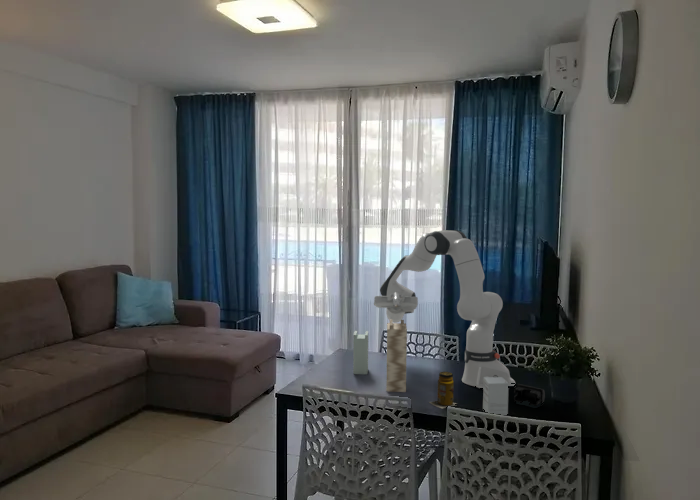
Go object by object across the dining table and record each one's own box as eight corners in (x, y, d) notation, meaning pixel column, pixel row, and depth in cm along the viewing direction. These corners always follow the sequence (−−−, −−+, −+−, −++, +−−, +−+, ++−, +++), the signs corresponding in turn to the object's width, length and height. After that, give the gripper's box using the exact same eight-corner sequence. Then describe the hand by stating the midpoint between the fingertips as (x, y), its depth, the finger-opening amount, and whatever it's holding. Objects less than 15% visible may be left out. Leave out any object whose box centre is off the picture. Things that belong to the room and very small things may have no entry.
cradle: (368, 369, 247) (368, 331, 245) (367, 374, 239) (367, 335, 237) (354, 368, 247) (354, 330, 246) (353, 374, 239) (353, 334, 238)
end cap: (544, 404, 203) (545, 387, 202) (538, 409, 197) (539, 392, 197) (519, 398, 209) (519, 382, 208) (512, 403, 203) (513, 386, 203)
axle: (392, 298, 243) (392, 292, 243) (399, 298, 243) (399, 292, 243) (393, 307, 223) (393, 300, 223) (400, 307, 223) (400, 300, 223)
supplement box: (501, 409, 197) (502, 376, 196) (508, 417, 190) (509, 383, 189) (482, 409, 197) (483, 376, 196) (487, 417, 189) (488, 383, 189)
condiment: (458, 404, 202) (458, 374, 201) (441, 409, 197) (442, 377, 196) (444, 399, 208) (445, 369, 207) (428, 403, 203) (429, 372, 202)
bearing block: (405, 382, 227) (405, 319, 225) (405, 392, 215) (406, 325, 213) (386, 382, 228) (387, 319, 226) (386, 391, 216) (387, 325, 214)
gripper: (374, 299, 254) (373, 289, 241) (416, 300, 252) (418, 289, 240) (373, 311, 251) (373, 301, 239) (416, 312, 250) (418, 303, 237)
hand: (396, 295), depth 239 cm, fingers closed on axle, 3 cm apart
